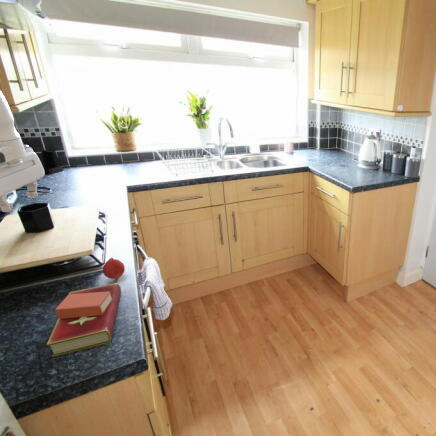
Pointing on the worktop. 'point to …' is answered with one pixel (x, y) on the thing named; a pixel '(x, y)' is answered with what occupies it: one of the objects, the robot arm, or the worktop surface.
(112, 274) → the red round piece
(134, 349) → the worktop surface
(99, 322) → the hardcover book
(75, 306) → the pocket book
